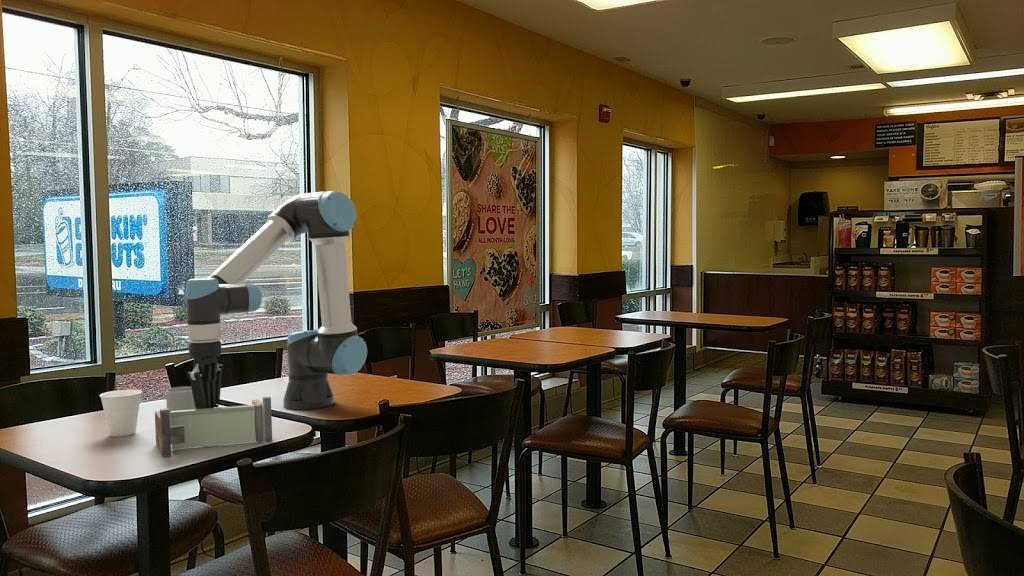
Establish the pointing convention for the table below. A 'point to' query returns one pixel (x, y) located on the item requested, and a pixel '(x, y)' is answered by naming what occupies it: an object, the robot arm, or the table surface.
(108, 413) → the cup
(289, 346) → the robot arm
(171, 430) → the post
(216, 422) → the gate
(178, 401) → the mug
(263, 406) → the hinge post
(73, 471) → the table surface
